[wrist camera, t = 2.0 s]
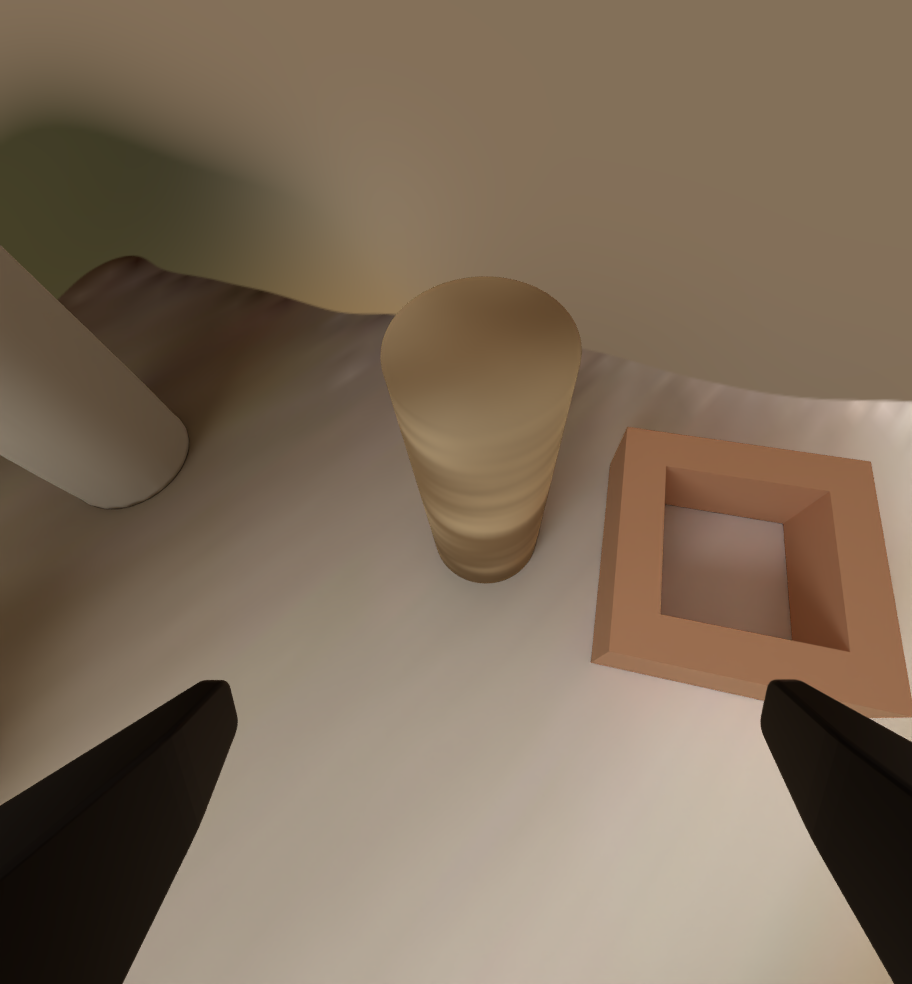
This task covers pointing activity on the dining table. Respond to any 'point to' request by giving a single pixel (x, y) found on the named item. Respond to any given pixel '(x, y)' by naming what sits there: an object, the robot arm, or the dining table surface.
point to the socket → (809, 560)
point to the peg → (482, 413)
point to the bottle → (77, 403)
